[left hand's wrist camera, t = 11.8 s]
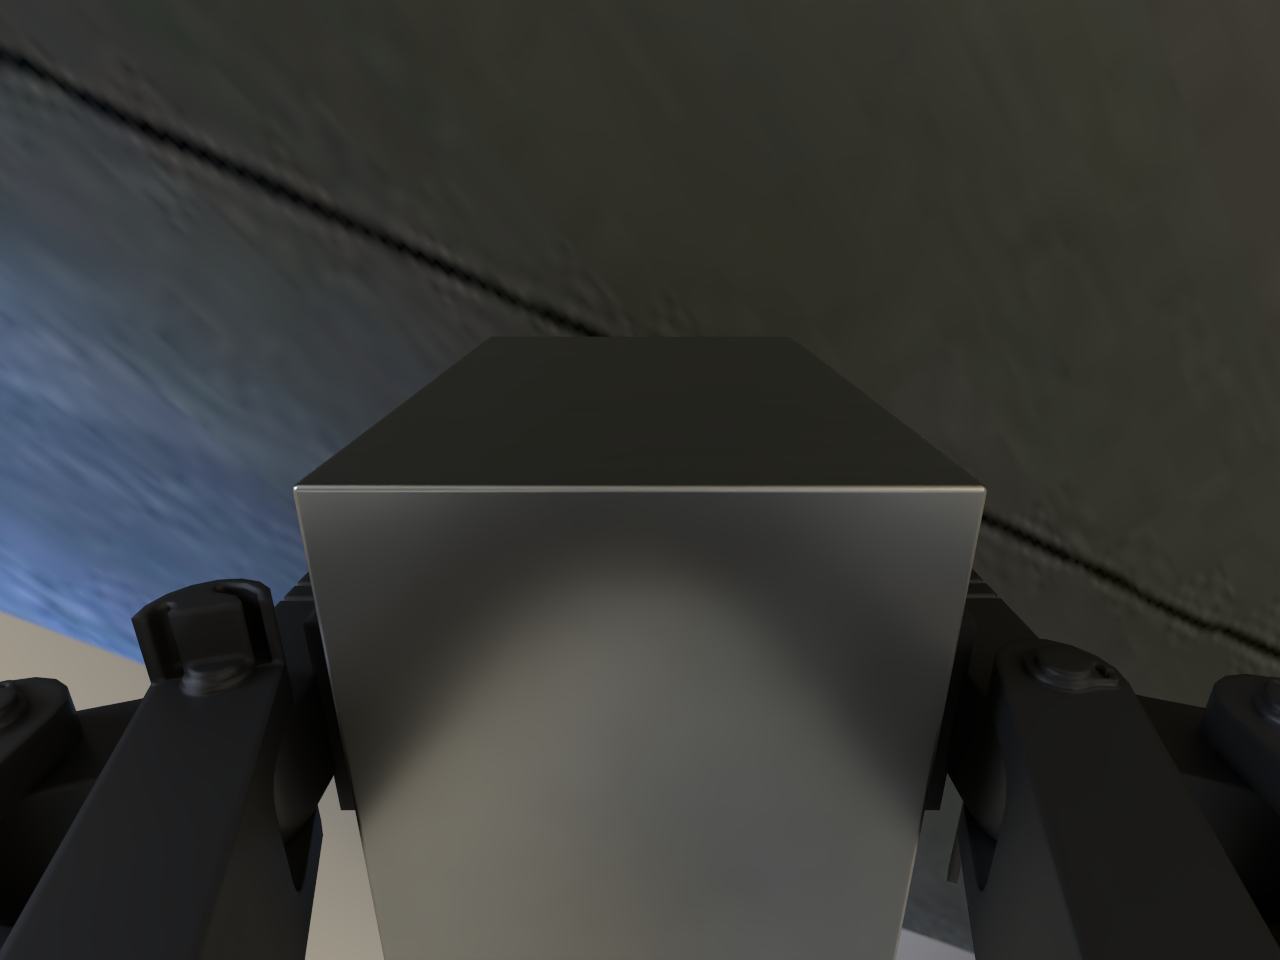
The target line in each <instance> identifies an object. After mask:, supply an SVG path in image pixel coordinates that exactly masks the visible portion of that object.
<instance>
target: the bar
mask: <svg viewBox="0 0 1280 960" xmlns="http://www.w3.org/2000/svg"><path fill="white" fill-rule="evenodd" d="M986 493H987V491H986V486H985V485H984V484H983V483H981V482H980V481H979V480H977V479H976V478H975V477H973V476H972V475H971V474H970V473H968V472H967V471H966V470H964V469H963V468H962V467H960V466H959V465H958V464H956V463H955V462H954V461H953V460H951V459H950V458H949V457H947V456H946V455H945V454H943V453H942V452H941V451H939V450H938V449H937V448H935V447H934V446H933V445H932V444H930V443H929V442H928V441H926V440H925V439H924V438H922V437H921V436H920V435H918V434H917V433H916V432H915V431H913V430H912V429H911V428H909V427H908V426H907V425H905V424H904V423H903V422H901V421H900V420H899V419H897V418H896V417H895V416H894V415H892V414H891V413H890V412H888V411H887V410H886V409H884V408H883V407H882V406H880V405H879V404H878V403H876V402H875V401H874V400H873V399H871V398H870V397H869V396H867V395H866V394H865V393H863V392H862V391H861V390H859V389H858V388H857V387H856V386H854V385H853V384H852V383H850V382H849V381H848V380H846V379H845V378H844V377H842V376H841V375H840V374H838V373H837V372H836V371H835V370H833V369H832V368H831V367H829V366H828V365H827V364H825V363H824V362H823V361H821V360H820V359H819V358H818V357H816V356H815V355H814V354H812V353H811V352H810V351H808V350H807V349H806V348H804V347H803V346H802V345H800V344H799V343H798V342H797V341H795V340H794V339H793V338H791V337H490V338H489V339H487V340H486V341H485V342H483V343H482V344H481V345H479V346H478V347H477V348H475V349H474V350H473V351H471V352H470V353H469V354H467V355H466V356H465V357H463V358H462V359H461V360H460V361H458V362H457V363H456V364H454V365H453V366H452V367H450V368H449V369H448V370H446V371H445V372H444V373H442V374H441V375H440V376H438V377H437V378H436V379H434V380H433V381H432V382H430V383H429V384H428V385H426V386H425V387H424V388H422V389H421V390H420V391H418V392H417V393H416V394H414V395H413V396H412V397H410V398H409V399H408V400H406V401H405V402H404V403H402V404H401V405H400V406H399V407H397V408H396V409H395V410H393V411H392V412H391V413H389V414H388V415H387V416H385V417H384V418H383V419H381V420H380V421H379V422H377V423H376V424H375V425H373V426H372V427H371V428H369V429H368V430H367V431H365V432H364V433H363V434H361V435H360V436H359V437H357V438H356V439H355V440H353V441H352V442H351V443H349V444H348V445H347V446H345V447H344V448H343V449H342V450H340V451H339V452H338V453H336V454H335V455H334V456H332V457H331V458H330V459H328V460H327V461H326V462H324V463H323V464H322V465H320V466H319V467H318V468H316V469H315V470H314V471H312V472H311V473H310V474H308V475H307V476H306V477H304V478H303V479H302V480H300V481H299V482H298V483H296V484H295V485H294V489H293V494H294V499H295V504H296V509H297V515H298V520H299V525H300V530H301V535H302V540H303V545H304V550H305V555H306V561H307V566H308V571H309V576H310V581H311V586H312V591H313V596H314V602H315V607H316V612H317V617H318V622H319V627H320V632H321V637H322V642H323V648H324V653H325V658H326V663H327V668H328V673H329V678H330V683H331V688H332V694H333V699H334V704H335V709H336V714H337V719H338V724H339V729H340V735H341V740H342V745H343V750H344V755H345V760H346V765H347V770H348V775H349V781H350V786H351V791H352V796H353V801H354V806H355V811H356V816H357V822H358V827H359V831H360V837H361V842H362V847H363V852H364V857H365V862H366V867H367V873H368V878H369V883H370V888H371V893H372V898H373V903H374V908H375V914H376V918H377V924H378V929H379V934H380V939H381V944H382V949H383V954H384V960H895V959H896V954H897V949H898V944H899V938H900V933H901V928H902V923H903V918H904V913H905V908H906V903H907V898H908V893H909V887H910V882H911V877H912V872H913V867H914V862H915V857H916V852H917V846H918V841H919V836H920V831H921V826H922V821H923V816H924V811H925V806H926V800H927V795H928V790H929V785H930V780H931V775H932V770H933V765H934V759H935V754H936V749H937V744H938V739H939V734H940V729H941V724H942V719H943V713H944V708H945V703H946V698H947V693H948V688H949V683H950V678H951V673H952V667H953V662H954V657H955V652H956V647H957V642H958V637H959V632H960V626H961V621H962V616H963V611H964V606H965V601H966V596H967V591H968V586H969V580H970V575H971V570H972V565H973V560H974V555H975V550H976V545H977V539H978V534H979V529H980V524H981V519H982V514H983V509H984V504H985V499H986Z"/></svg>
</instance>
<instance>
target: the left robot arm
mask: <svg viewBox="0 0 1280 960" xmlns="http://www.w3.org/2000/svg"><path fill="white" fill-rule="evenodd" d="M131 620H132V623H133V626H134V629H135V633H136V636H137V639H138V642H139V646H140V649H141V652H142V655H143V659H144V662H145V665H146V668H147V672H148V675H149V678H150V681H151V685H150V687H149V689H148V691H147V692H146V694H145V696H144V698H142V699H138V700H133V701H127V702H122V703H117V704H112V705H106V706H101V707H96V708H91V709H86V710H80V711H76V710H75V707H74V704H73V701H72V698H71V696H70V693H69V690H68V687H67V686H66V685H64V684H63V683H61V682H60V681H58V680H57V679H49V678H39V677H33V678H26V679H19V680H6V681H2V682H0V960H305V954H306V947H307V940H308V933H309V927H310V920H311V913H312V906H313V899H314V892H315V886H316V879H317V872H318V865H319V858H320V851H321V845H322V837H323V832H322V824H321V818H320V814H319V809H318V803H319V801H320V799H321V797H322V795H323V794H324V792H325V790H326V788H327V786H328V785H329V783H330V781H331V779H332V777H333V776H334V778H335V783H336V788H337V793H338V798H339V803H340V807H341V810H355V806H354V801H353V796H352V791H351V786H350V781H349V775H348V770H347V765H346V760H345V755H344V750H343V745H342V740H341V735H340V729H339V724H338V719H337V714H336V709H335V704H334V699H333V694H332V688H331V683H330V678H329V673H328V668H327V663H326V658H325V653H324V648H323V642H322V637H321V632H320V627H319V622H318V617H317V612H316V607H315V602H314V596H313V591H312V586H311V581H310V576H309V572H308V573H307V574H306V575H305V576H304V577H303V578H302V579H301V580H300V581H299V582H298V586H294V587H293V588H292V589H291V591H290V592H289V593H288V594H287V595H286V596H285V597H284V601H280V602H279V603H278V604H277V605H276V606H275V607H274V604H273V600H272V595H271V591H270V588H268V587H267V586H265V585H264V584H262V583H261V582H259V581H253V580H247V579H224V580H215V581H210V582H205V583H200V584H195V585H191V586H188V587H186V588H183V589H180V590H177V591H174V592H171V593H168V594H166V595H164V596H162V597H161V598H159V599H157V600H155V601H153V602H151V603H149V604H148V605H146V606H144V607H143V608H142V609H141V610H140V611H139V612H138V613H137V614H136V615H135V616H134V617H132V618H131ZM947 773H948V775H949V776H950V778H951V780H952V782H953V784H954V785H955V787H956V789H957V791H958V793H959V794H960V796H961V798H962V800H963V804H962V809H961V813H960V818H959V823H958V827H957V832H956V836H955V841H954V845H953V850H952V854H951V859H950V863H949V869H948V877H947V881H949V882H953V883H957V881H958V876H959V872H960V868H961V867H962V870H963V877H964V884H965V891H966V898H967V904H968V911H969V918H970V925H971V932H972V938H973V945H974V952H975V959H976V960H1280V678H1277V677H1265V676H1257V675H1250V674H1241V675H1230V676H1225V677H1223V678H1222V679H1220V680H1219V681H1217V682H1216V683H1215V684H1214V687H1213V689H1212V692H1211V695H1210V698H1209V700H1208V703H1207V706H1206V708H1202V707H1196V706H1191V705H1186V704H1181V703H1175V702H1170V701H1165V700H1160V699H1154V698H1149V697H1144V696H1140V695H1136V694H1135V693H1134V691H1133V689H1132V688H1131V686H1130V684H1129V683H1128V682H1127V680H1126V679H1125V678H1124V677H1123V676H1122V675H1121V674H1120V673H1119V671H1118V670H1117V669H1116V668H1114V667H1113V666H1111V665H1110V664H1108V663H1106V662H1105V661H1103V660H1102V659H1100V658H1099V657H1097V656H1096V655H1093V654H1091V653H1088V652H1086V651H1084V650H1081V649H1079V648H1076V647H1074V646H1072V645H1067V644H1063V643H1059V642H1055V641H1051V640H1047V639H1039V638H1038V637H1037V636H1036V635H1035V634H1034V633H1033V632H1032V631H1031V630H1030V628H1029V627H1028V626H1027V625H1026V624H1025V623H1024V622H1023V621H1022V620H1021V619H1020V618H1019V617H1018V616H1017V615H1016V614H1015V613H1014V612H1013V611H1012V610H1011V609H1010V608H1009V607H1008V606H1007V605H1006V603H1005V602H1004V601H1003V600H1002V599H1001V598H997V594H996V593H995V592H994V591H993V590H992V589H991V588H990V587H989V586H988V585H987V584H986V583H983V580H982V579H981V577H980V576H979V575H978V574H977V573H976V572H975V571H974V570H973V569H972V570H971V575H970V580H969V586H968V591H967V596H966V601H965V606H964V611H963V616H962V621H961V626H960V632H959V637H958V642H957V647H956V652H955V657H954V662H953V667H952V673H951V678H950V683H949V688H948V693H947V698H946V703H945V708H944V713H943V719H942V724H941V729H940V734H939V739H938V744H937V749H936V754H935V759H934V765H933V770H932V775H931V780H930V785H929V790H928V795H927V800H926V806H925V810H940V805H941V800H942V795H943V791H944V786H945V781H946V776H947Z"/></svg>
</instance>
